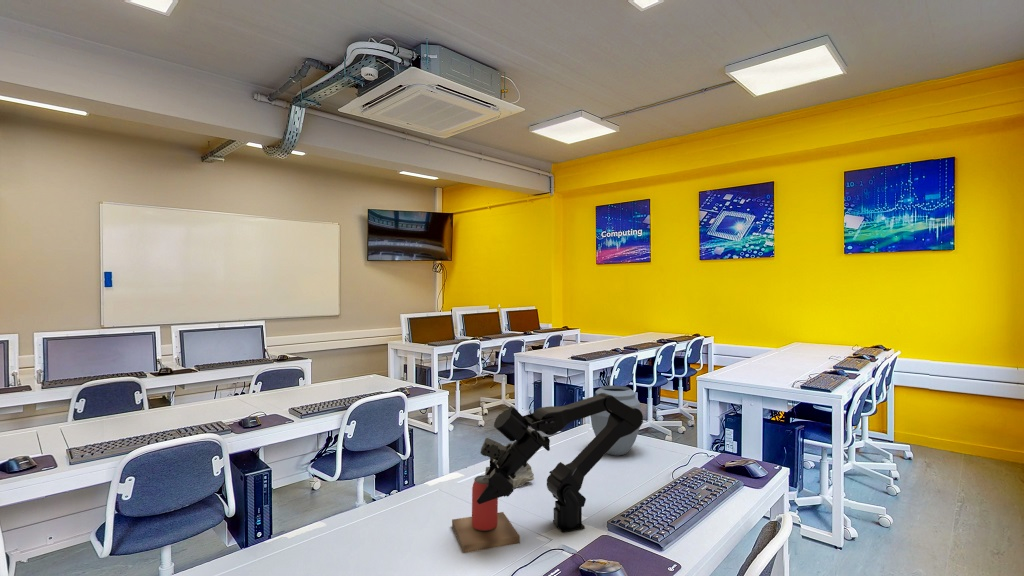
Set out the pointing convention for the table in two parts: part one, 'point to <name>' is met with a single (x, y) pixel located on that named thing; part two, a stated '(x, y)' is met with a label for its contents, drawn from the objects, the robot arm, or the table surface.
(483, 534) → the walnut block
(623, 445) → the vase
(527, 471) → the grey irregular stone
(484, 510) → the beer can
